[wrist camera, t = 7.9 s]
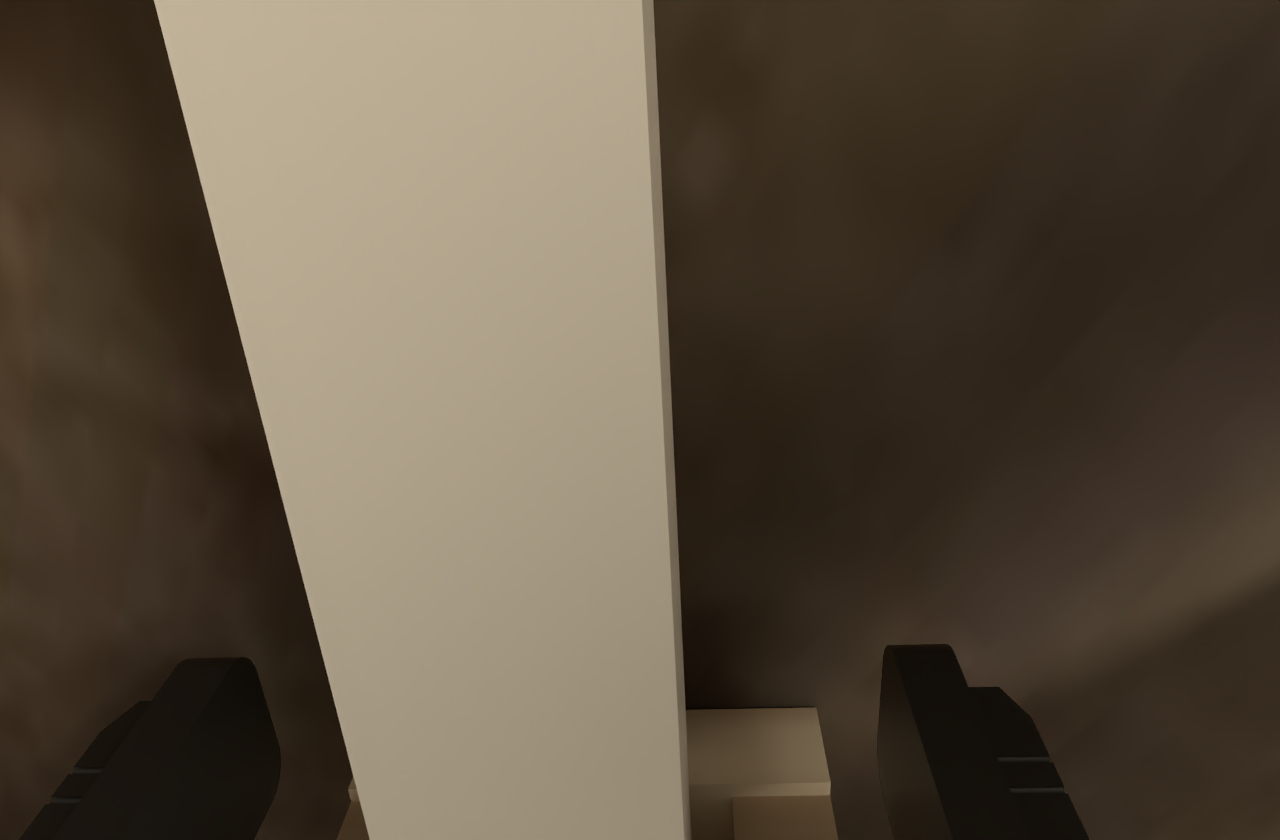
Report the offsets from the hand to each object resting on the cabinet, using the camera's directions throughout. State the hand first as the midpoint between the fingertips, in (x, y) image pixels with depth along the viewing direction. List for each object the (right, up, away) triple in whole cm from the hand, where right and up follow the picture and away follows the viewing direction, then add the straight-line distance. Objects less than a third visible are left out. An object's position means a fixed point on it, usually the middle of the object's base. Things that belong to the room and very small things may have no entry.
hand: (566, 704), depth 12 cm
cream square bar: (0, +4, -2) cm, 5 cm away
